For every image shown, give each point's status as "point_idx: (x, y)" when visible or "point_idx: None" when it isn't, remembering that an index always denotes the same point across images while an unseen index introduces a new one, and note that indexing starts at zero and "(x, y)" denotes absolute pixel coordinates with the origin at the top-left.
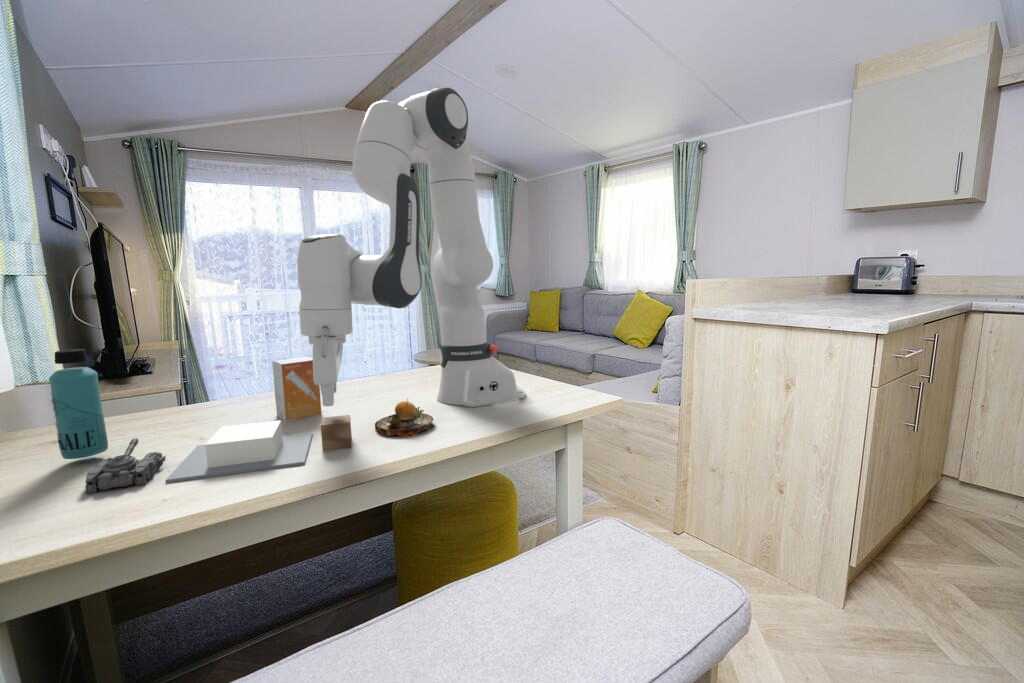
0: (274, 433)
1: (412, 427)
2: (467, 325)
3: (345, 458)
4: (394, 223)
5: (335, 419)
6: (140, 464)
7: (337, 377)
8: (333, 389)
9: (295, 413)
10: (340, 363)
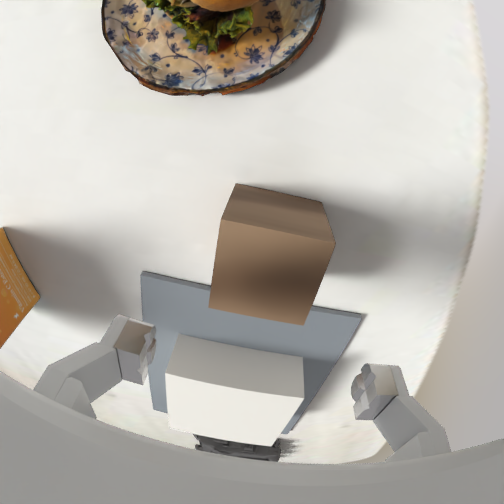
0: (277, 394)
1: None
2: None
3: (391, 236)
4: None
5: (260, 278)
6: (258, 457)
7: (498, 457)
8: (436, 421)
9: (22, 288)
10: (33, 419)
